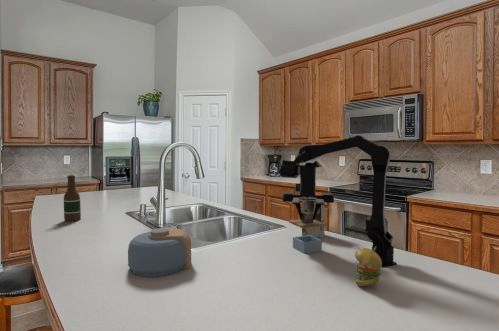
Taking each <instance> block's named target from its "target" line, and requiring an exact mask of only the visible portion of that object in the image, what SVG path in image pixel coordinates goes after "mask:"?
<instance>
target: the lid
mask: <svg viewBox="0 0 499 331" xmlns="http://www.w3.org/2000/svg"><path fill="white" fill-rule="evenodd" d="M301 215H302V220H300V218H299V219H292V220H291V219H290V220H288V223H289V224H291V225H293V226H296V227H298V228H300V229H301V230H302V229H305V228H314V227H323V226H325V227H327V223H322V222H319V221H317V220H313V213H310V212H302V211H301Z"/></svg>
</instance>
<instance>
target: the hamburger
mask: <svg viewBox="0 0 499 331" xmlns="http://www.w3.org/2000/svg"><path fill="white" fill-rule="evenodd" d="M375 248H376V247H375ZM375 248H374V251H375ZM374 251H373V250H372V248H371V249H370V248H367V247H361V248H358V249H357V250H356V251H355V252H354V257H355V259H356V261H358V263H357V264H355V269H356V270H355V272H356V278H355V280H354V282H355V284H356V285H357V286H360V287H369V286H372V285H375V284H377V283H378V282H379V280H380V277H381V276H382V274H381V271H382V260H381V258H380V257H379V255H378V254H377V253H376V252H374Z"/></svg>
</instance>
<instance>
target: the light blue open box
mask: <svg viewBox="0 0 499 331" xmlns="http://www.w3.org/2000/svg"><path fill="white" fill-rule="evenodd" d="M292 248H293V249H295V250H297V251H298V252H300V253H302V254H309V253H316V252H322V251H323V240H322V239H321V238H319V237H313V236H311V235H306V236H304V235H300V236H292Z"/></svg>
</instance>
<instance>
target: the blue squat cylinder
mask: <svg viewBox="0 0 499 331" xmlns="http://www.w3.org/2000/svg"><path fill="white" fill-rule="evenodd" d="M191 240H192V239H191V237H190V236H189V234H188V233H187V231H185V230H183V229H181V228H176V227H160V228H154V229H151V230H150V231H148V232H144V233H140V234H138V235H136V236H134V237H133V238H132V239H131V240H130V241H129V244H128V246H127V263H128V264H127V266H128V268H129V269H131V272H132V271H133V272H132V273H133V274H135V275H137V276H141V277H148V276H153V277H162V276H163V275H164V276H167V275H168V274H169V275H172V274H175V273H178V272H179V271H182V270H183V269H190V268H191V266H192V241H191ZM169 275H168V276H169ZM164 276H163V277H164Z"/></svg>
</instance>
